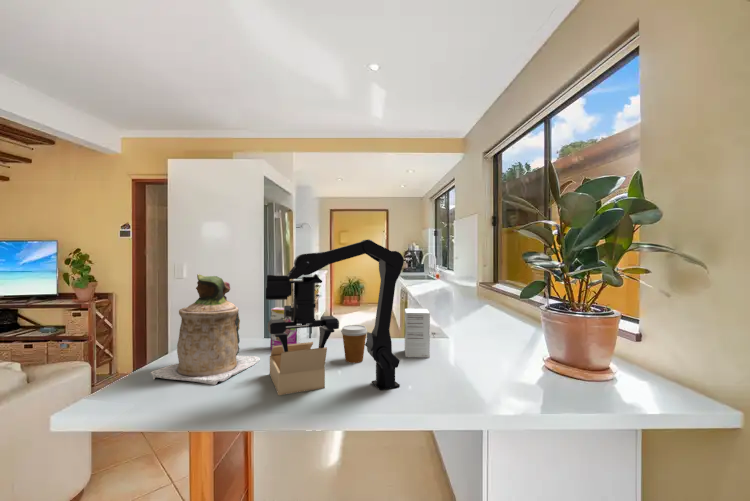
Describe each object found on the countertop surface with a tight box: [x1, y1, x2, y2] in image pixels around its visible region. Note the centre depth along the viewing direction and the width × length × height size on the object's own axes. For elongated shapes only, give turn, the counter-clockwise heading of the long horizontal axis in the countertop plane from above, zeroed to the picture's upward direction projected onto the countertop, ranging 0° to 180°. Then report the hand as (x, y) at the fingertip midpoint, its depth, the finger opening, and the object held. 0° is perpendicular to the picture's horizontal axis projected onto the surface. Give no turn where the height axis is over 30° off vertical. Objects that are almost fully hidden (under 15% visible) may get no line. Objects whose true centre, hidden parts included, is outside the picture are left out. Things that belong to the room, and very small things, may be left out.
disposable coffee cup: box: [340, 324, 368, 364], centre depth 128 cm, size 10×10×12 cm
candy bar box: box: [269, 306, 301, 350], centre depth 143 cm, size 11×5×16 cm, turn 84°
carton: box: [269, 355, 326, 396], centre depth 107 cm, size 18×13×6 cm
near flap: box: [280, 346, 328, 374], centre depth 97 cm, size 7×12×1 cm
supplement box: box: [404, 308, 431, 359], centre depth 136 cm, size 10×9×17 cm
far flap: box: [270, 341, 314, 356], centre depth 113 cm, size 7×12×1 cm
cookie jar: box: [150, 273, 261, 386], centre depth 117 cm, size 25×25×32 cm
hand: (303, 355), depth 97 cm, fingers open, 9 cm apart
